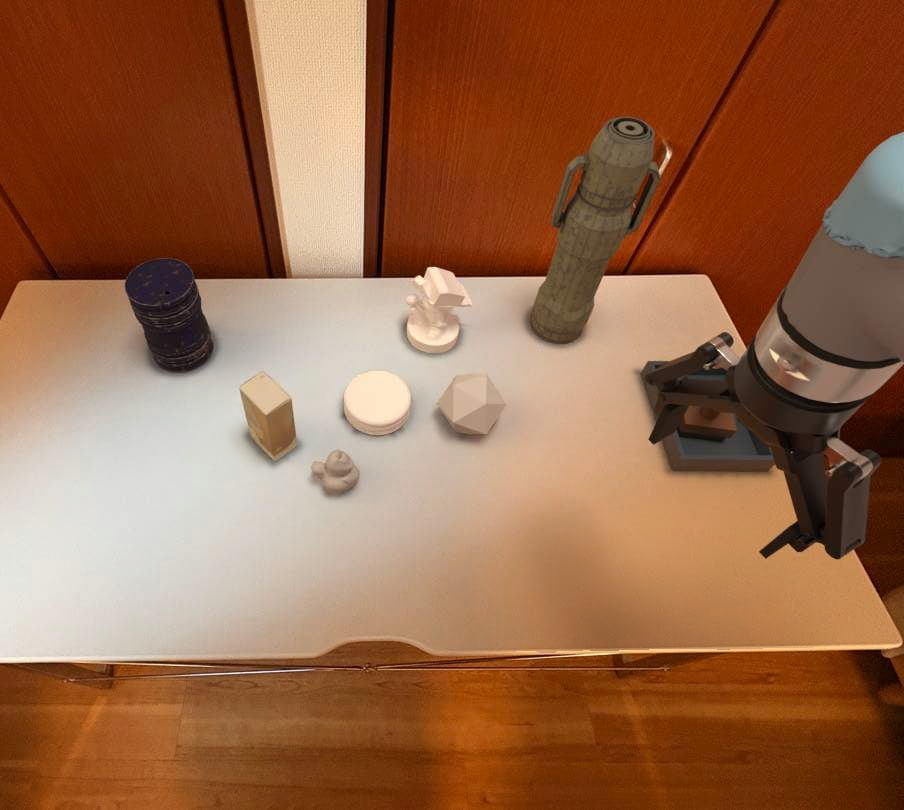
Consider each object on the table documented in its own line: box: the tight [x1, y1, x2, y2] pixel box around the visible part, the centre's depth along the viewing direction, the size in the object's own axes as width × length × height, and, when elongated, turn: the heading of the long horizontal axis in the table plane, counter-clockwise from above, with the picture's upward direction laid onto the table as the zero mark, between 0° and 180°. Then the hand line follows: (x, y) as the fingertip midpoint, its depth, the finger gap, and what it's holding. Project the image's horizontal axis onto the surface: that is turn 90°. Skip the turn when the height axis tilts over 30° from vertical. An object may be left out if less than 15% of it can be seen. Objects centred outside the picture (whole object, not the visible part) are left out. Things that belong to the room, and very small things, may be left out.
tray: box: [640, 360, 776, 472], centre depth 91 cm, size 18×14×3 cm
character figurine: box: [405, 266, 473, 355], centre depth 97 cm, size 9×10×12 cm
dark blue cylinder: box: [124, 257, 214, 374], centre depth 93 cm, size 10×10×15 cm
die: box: [436, 373, 508, 435], centre depth 89 cm, size 8×9×10 cm
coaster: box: [343, 369, 412, 436], centre depth 91 cm, size 10×10×4 cm
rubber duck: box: [310, 449, 360, 494], centre depth 82 cm, size 5×7×8 cm
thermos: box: [529, 116, 662, 345], centre depth 89 cm, size 9×12×35 cm
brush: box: [677, 354, 743, 442], centre depth 83 cm, size 7×5×18 cm
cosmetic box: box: [238, 370, 298, 462], centre depth 84 cm, size 6×4×12 cm
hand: (714, 488), depth 58 cm, fingers open, 13 cm apart
